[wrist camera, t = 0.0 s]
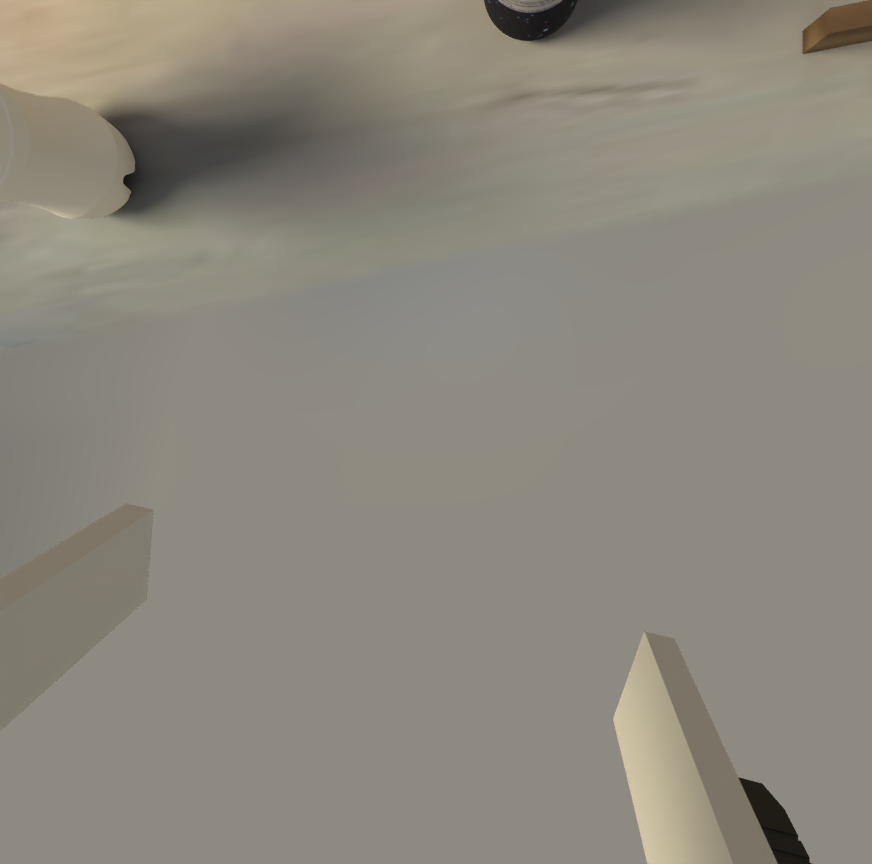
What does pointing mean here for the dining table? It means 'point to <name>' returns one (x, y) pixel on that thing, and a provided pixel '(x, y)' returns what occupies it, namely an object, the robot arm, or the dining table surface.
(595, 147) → the dining table surface
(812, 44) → the corral
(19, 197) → the water bottle
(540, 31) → the beverage can
